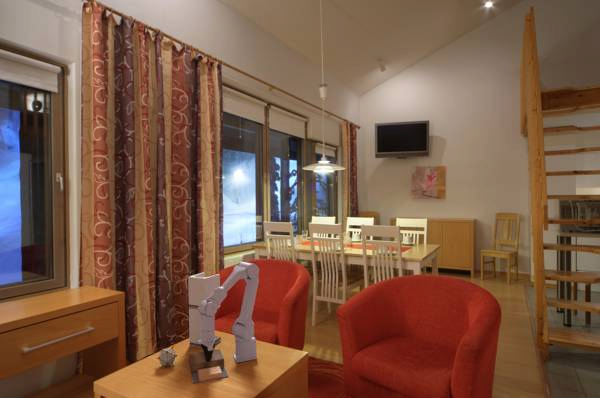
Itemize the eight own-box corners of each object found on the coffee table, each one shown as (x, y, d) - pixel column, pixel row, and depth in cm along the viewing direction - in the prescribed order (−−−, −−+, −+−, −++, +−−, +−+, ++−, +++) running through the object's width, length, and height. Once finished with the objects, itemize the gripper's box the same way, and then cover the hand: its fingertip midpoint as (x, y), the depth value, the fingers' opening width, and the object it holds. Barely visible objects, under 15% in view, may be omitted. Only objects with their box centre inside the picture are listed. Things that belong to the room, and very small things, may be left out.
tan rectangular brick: (221, 372, 153) (221, 377, 153) (219, 366, 158) (219, 370, 158) (199, 376, 149) (199, 381, 149) (197, 370, 155) (197, 374, 155)
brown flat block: (219, 357, 172) (219, 348, 172) (224, 367, 162) (224, 358, 162) (188, 362, 167) (188, 354, 166) (191, 373, 156) (191, 364, 156)
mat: (224, 367, 162) (224, 366, 162) (228, 376, 153) (228, 376, 153) (191, 373, 156) (191, 373, 156) (193, 383, 148) (193, 383, 148)
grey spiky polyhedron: (169, 375, 163) (168, 363, 157) (153, 367, 164) (151, 355, 158) (181, 358, 170) (181, 346, 164) (165, 350, 171) (165, 338, 165)
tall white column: (206, 349, 180) (205, 278, 180) (189, 346, 185) (188, 276, 184) (220, 341, 191) (219, 273, 190) (204, 337, 195) (203, 272, 195)
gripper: (196, 325, 163) (196, 355, 163) (200, 336, 149) (200, 370, 149) (212, 322, 165) (212, 352, 165) (217, 334, 152) (218, 366, 152)
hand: (208, 360), depth 158 cm, fingers closed
